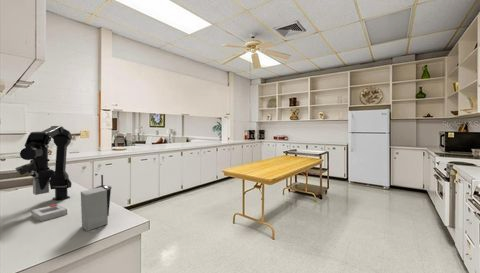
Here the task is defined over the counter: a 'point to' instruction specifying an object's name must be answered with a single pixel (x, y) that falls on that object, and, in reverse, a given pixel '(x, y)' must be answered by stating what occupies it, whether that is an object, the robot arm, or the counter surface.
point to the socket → (48, 212)
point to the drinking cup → (107, 193)
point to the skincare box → (94, 208)
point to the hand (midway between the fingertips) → (40, 188)
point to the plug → (37, 188)
